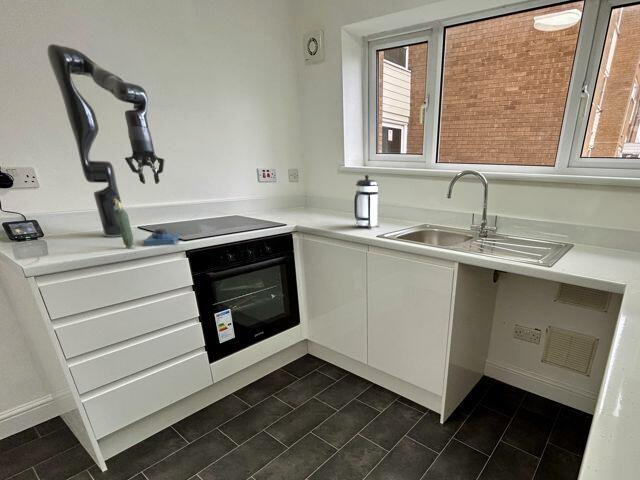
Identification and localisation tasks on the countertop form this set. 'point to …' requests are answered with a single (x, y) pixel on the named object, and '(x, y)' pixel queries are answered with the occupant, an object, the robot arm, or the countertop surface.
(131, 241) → the vegetable
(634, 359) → the countertop surface
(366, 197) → the coffee press
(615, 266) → the countertop surface
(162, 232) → the button
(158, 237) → the button box
